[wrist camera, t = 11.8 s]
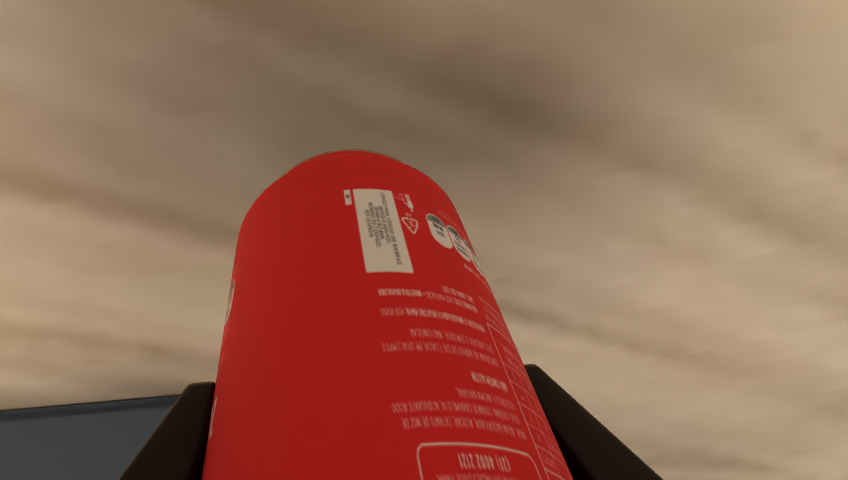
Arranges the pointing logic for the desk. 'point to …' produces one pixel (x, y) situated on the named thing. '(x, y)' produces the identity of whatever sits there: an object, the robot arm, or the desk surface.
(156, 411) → the slate grey box
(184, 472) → the robot arm
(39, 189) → the desk surface
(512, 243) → the desk surface
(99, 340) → the desk surface
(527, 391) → the beverage can
